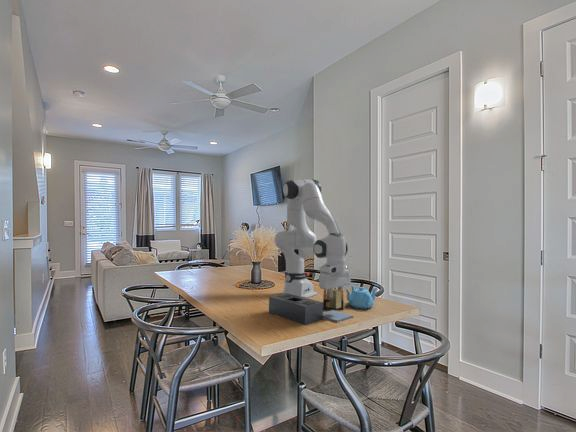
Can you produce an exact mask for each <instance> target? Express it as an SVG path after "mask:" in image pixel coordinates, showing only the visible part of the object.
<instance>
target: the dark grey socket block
mask: <svg viewBox="0 0 576 432" xmlns="http://www.w3.org/2000/svg"><path fill="white" fill-rule="evenodd" d="M323 313H324V310H323V301H319V300H315V299H311V298H309V297H308V298H304V297H300V296H296V295H292V294H288V293H285V294H283V293H281V294H276V295H270V296H269V297H268V314H271V315H273V316H276V317H279V318H282V319H285V320H288V321H291V322H294V323H297V324H300V325H301V326H308V325H311V324H314V323H317V322H320V321H323V320H324V318H323Z"/></svg>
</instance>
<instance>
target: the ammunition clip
mask: <svg viewBox="0 0 576 432" xmlns="http://www.w3.org/2000/svg"><path fill="white" fill-rule="evenodd" d="M333 289H337V287H336V288H333ZM322 295H323V297H322V302H323V311H325V310H326V311H331V310H335V311H344V310H345V309H344V289H343V290H342V294H341V308H337V309H335V308H331V307H329V292H328V289H326V290H325V289H323V294H322Z"/></svg>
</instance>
